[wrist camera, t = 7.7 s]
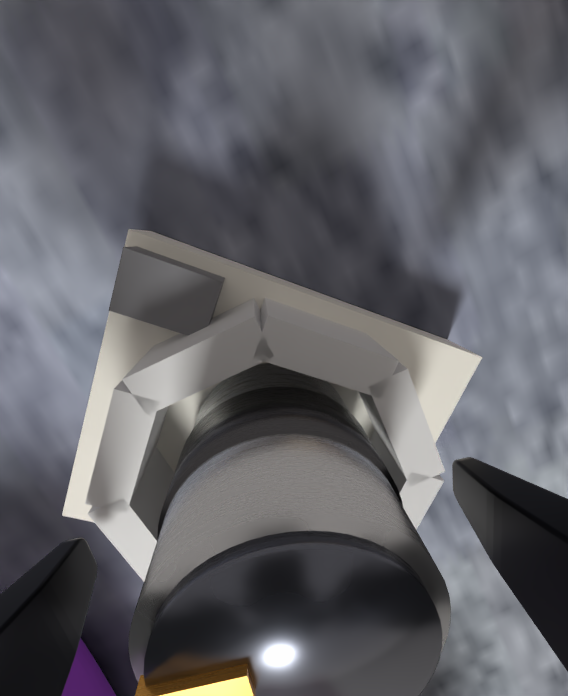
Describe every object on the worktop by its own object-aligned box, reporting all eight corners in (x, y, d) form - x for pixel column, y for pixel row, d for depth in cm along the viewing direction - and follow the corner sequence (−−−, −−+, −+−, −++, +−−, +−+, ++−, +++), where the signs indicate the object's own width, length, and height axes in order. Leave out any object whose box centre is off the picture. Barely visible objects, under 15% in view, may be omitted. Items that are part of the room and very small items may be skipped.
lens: (360, 485, 12) (475, 743, 6) (213, 516, 12) (170, 815, 6) (342, 344, 10) (473, 495, 4) (171, 378, 10) (48, 586, 4)
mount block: (448, 339, 13) (546, 390, 8) (347, 535, 15) (385, 652, 11) (150, 231, 11) (82, 225, 7) (89, 475, 13) (10, 588, 9)
